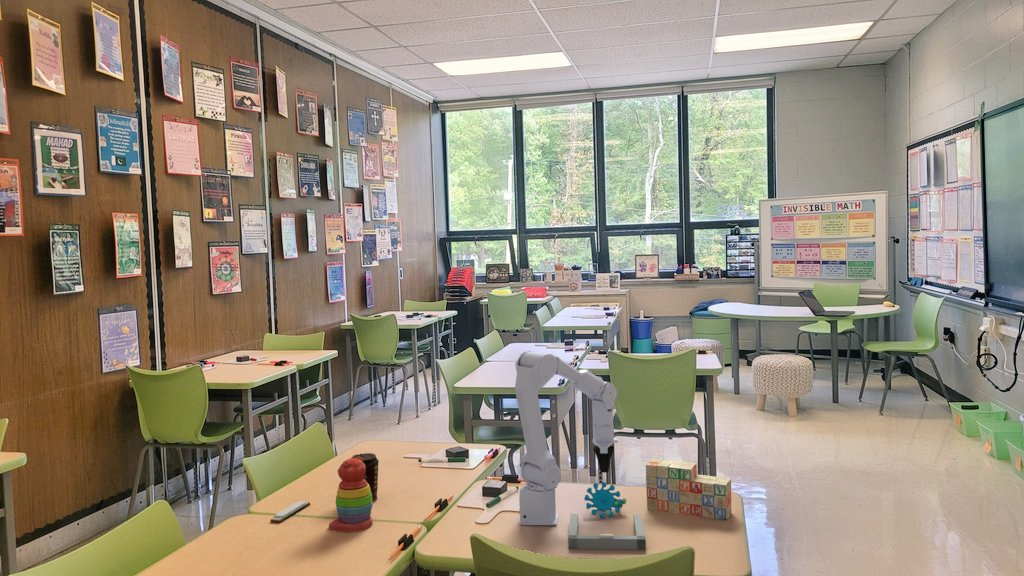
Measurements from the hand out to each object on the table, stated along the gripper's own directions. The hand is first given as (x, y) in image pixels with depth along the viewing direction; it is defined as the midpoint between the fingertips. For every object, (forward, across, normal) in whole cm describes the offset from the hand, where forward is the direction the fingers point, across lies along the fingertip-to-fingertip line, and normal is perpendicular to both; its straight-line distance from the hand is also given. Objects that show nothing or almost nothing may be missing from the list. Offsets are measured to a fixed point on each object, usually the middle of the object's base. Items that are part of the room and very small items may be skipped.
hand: (604, 471), depth 206 cm
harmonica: (+8, -13, +86) cm, 88 cm away
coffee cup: (+8, -2, +69) cm, 69 cm away
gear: (+8, -11, 0) cm, 14 cm away
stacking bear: (+8, -21, +66) cm, 69 cm away
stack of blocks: (+8, -8, -22) cm, 25 cm away
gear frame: (+8, -25, 0) cm, 26 cm away
